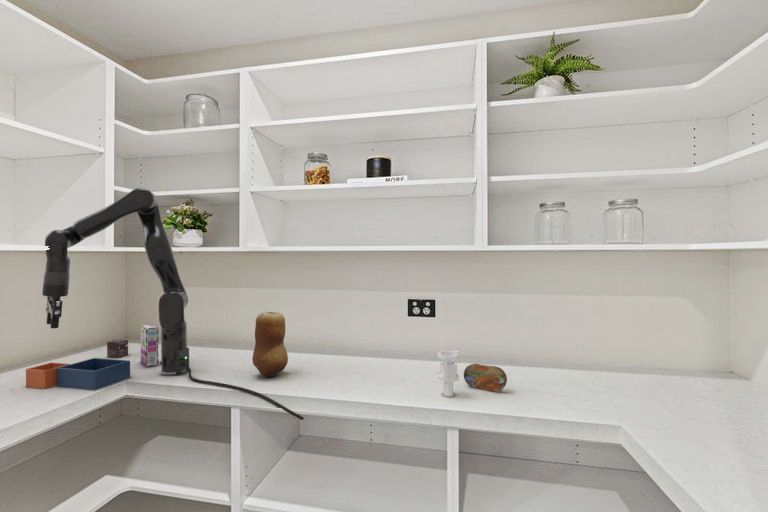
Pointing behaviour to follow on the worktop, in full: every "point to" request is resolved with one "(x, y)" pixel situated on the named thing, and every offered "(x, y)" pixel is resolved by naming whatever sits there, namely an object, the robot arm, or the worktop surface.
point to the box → (117, 348)
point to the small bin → (43, 375)
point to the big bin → (93, 373)
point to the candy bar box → (149, 345)
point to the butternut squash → (270, 344)
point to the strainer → (448, 370)
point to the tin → (485, 377)
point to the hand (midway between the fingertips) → (52, 326)
